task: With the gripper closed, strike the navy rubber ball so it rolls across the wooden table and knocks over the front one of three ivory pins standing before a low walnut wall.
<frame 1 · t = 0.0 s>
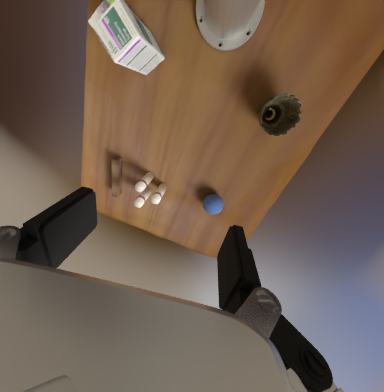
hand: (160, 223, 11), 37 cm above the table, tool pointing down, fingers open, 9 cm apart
pin 2: (148, 189, 53), on the table
back wall: (119, 175, 51), on the table
cup: (268, 114, 40), on the table
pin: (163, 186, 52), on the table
ball: (213, 204, 49), on the table
pin 1: (149, 175, 50), on the table
syrup box: (148, 54, 37), on the table
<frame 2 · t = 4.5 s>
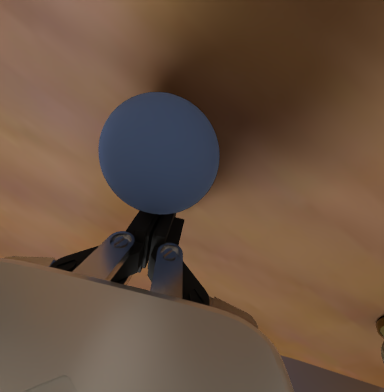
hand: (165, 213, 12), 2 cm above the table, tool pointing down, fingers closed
ball: (162, 158, 9), on the table
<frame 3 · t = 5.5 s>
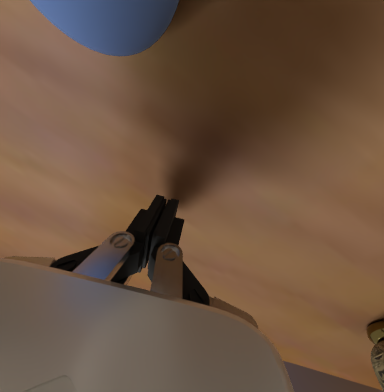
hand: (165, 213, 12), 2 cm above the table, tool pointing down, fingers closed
cup: (380, 324, 19), on the table
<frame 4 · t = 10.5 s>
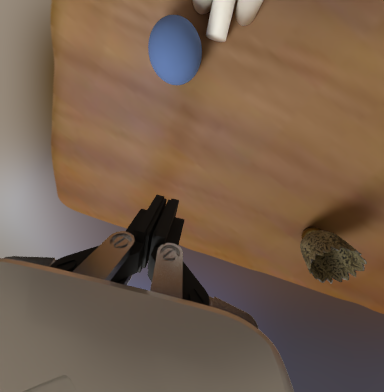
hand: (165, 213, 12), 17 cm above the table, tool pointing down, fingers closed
cup: (309, 232, 32), on the table
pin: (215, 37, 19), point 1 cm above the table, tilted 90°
ball: (175, 53, 19), on the table
pin 1: (246, 11, 19), on the table
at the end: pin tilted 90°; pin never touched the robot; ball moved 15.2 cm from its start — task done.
